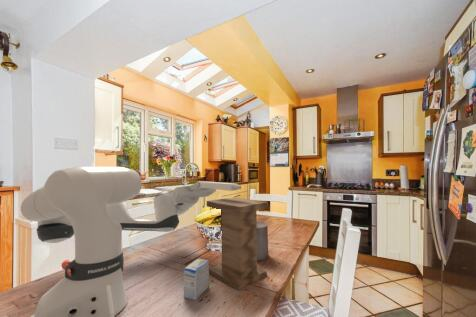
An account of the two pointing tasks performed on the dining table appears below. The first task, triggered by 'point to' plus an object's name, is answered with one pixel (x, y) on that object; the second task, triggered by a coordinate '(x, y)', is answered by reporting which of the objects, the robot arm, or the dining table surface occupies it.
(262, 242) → the pillar candle
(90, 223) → the robot arm
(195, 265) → the medicine box
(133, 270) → the dining table surface
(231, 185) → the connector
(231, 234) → the stand
